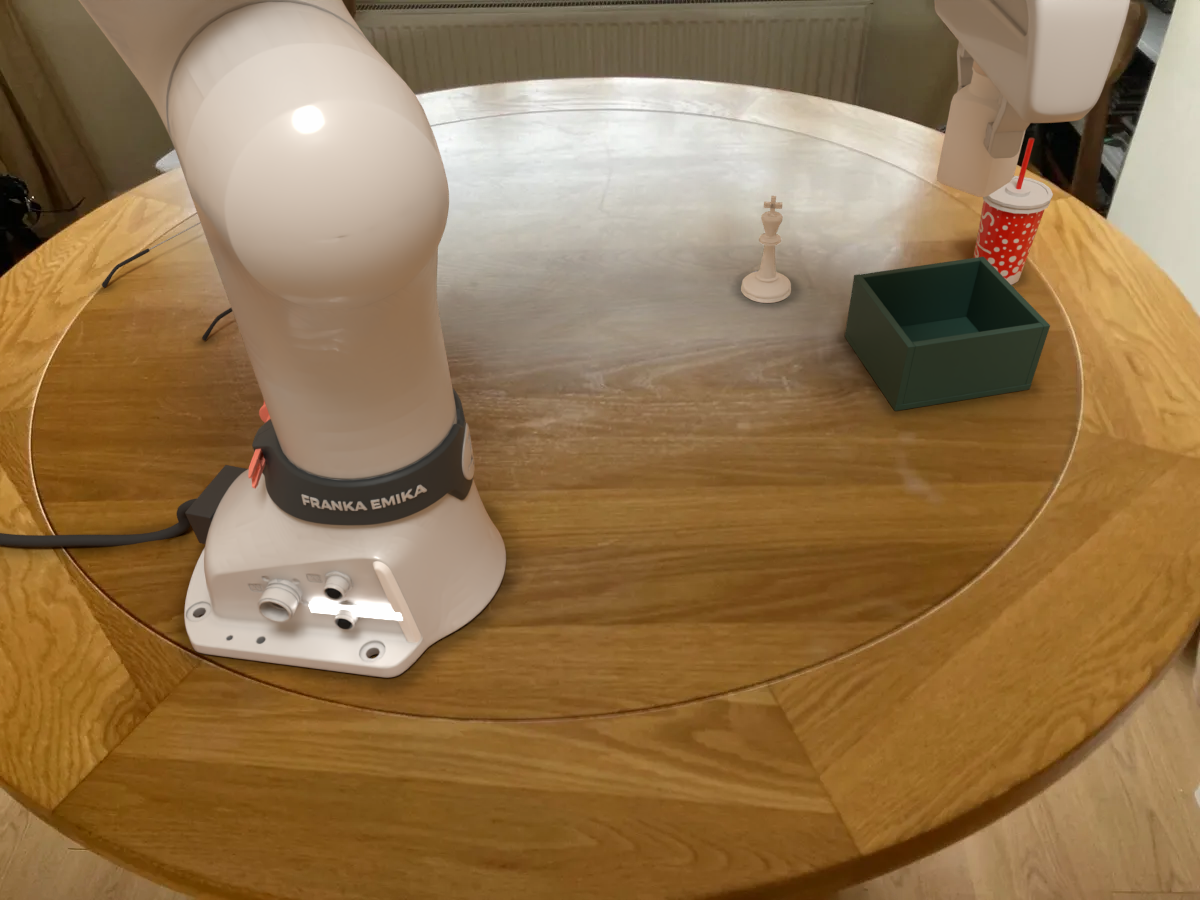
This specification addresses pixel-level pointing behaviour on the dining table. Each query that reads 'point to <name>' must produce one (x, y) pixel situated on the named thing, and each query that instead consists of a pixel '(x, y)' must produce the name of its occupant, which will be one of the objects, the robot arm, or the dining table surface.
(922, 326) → the bin
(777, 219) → the chess piece
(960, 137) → the pepper shaker
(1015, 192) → the beverage cup
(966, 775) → the dining table surface
